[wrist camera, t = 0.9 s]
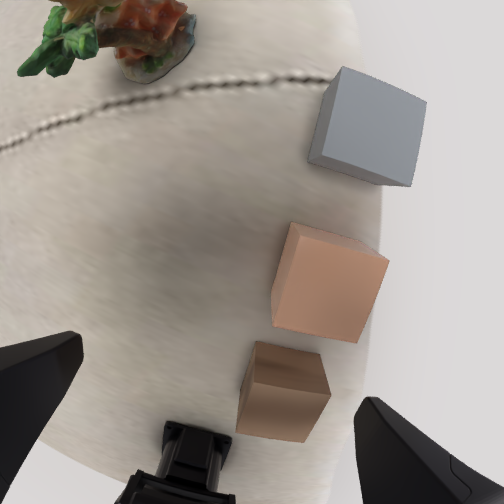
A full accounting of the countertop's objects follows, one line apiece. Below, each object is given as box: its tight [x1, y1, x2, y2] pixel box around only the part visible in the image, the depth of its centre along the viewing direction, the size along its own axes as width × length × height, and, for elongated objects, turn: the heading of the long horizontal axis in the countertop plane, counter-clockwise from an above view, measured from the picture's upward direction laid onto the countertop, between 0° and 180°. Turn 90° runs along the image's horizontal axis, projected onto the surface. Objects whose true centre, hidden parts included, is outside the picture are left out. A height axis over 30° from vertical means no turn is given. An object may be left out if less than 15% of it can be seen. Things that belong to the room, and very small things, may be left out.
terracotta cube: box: [271, 222, 389, 343], centre depth 17 cm, size 5×5×5 cm
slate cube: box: [307, 66, 427, 187], centre depth 15 cm, size 5×5×5 cm
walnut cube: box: [235, 341, 331, 443], centre depth 19 cm, size 5×5×5 cm
